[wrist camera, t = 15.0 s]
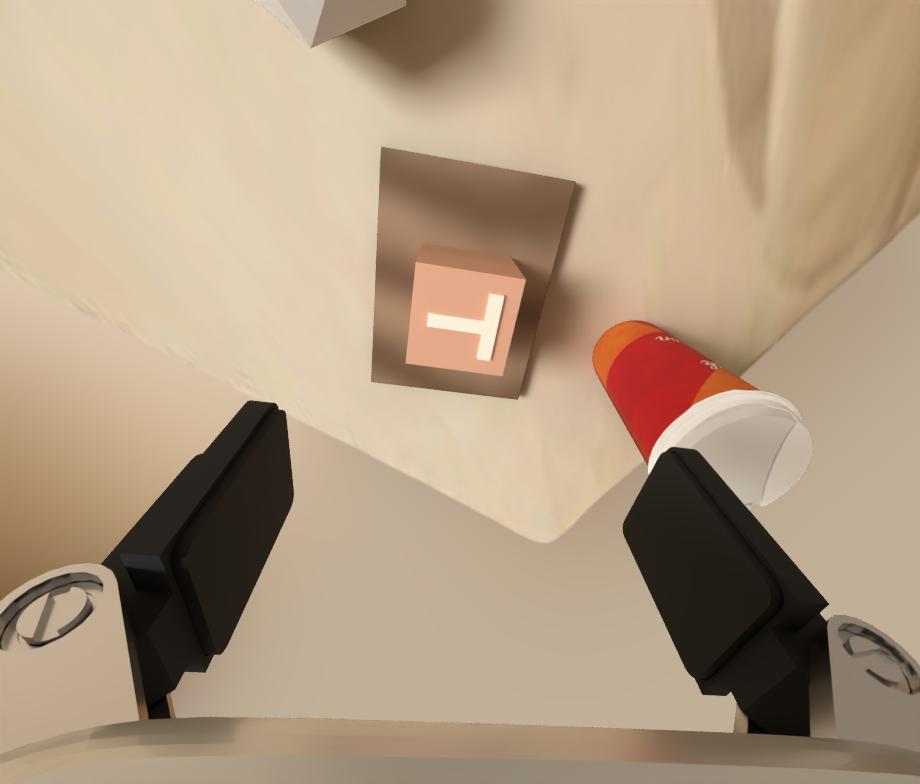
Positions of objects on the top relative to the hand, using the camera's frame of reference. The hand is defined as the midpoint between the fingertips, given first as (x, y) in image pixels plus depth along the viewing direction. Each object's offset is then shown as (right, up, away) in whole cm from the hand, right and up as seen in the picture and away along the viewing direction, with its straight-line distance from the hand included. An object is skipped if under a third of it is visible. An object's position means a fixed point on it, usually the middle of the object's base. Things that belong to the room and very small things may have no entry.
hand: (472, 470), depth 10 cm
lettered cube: (0, +9, +17) cm, 20 cm away
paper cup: (+13, +5, +21) cm, 26 cm away
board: (0, +9, +18) cm, 21 cm away
